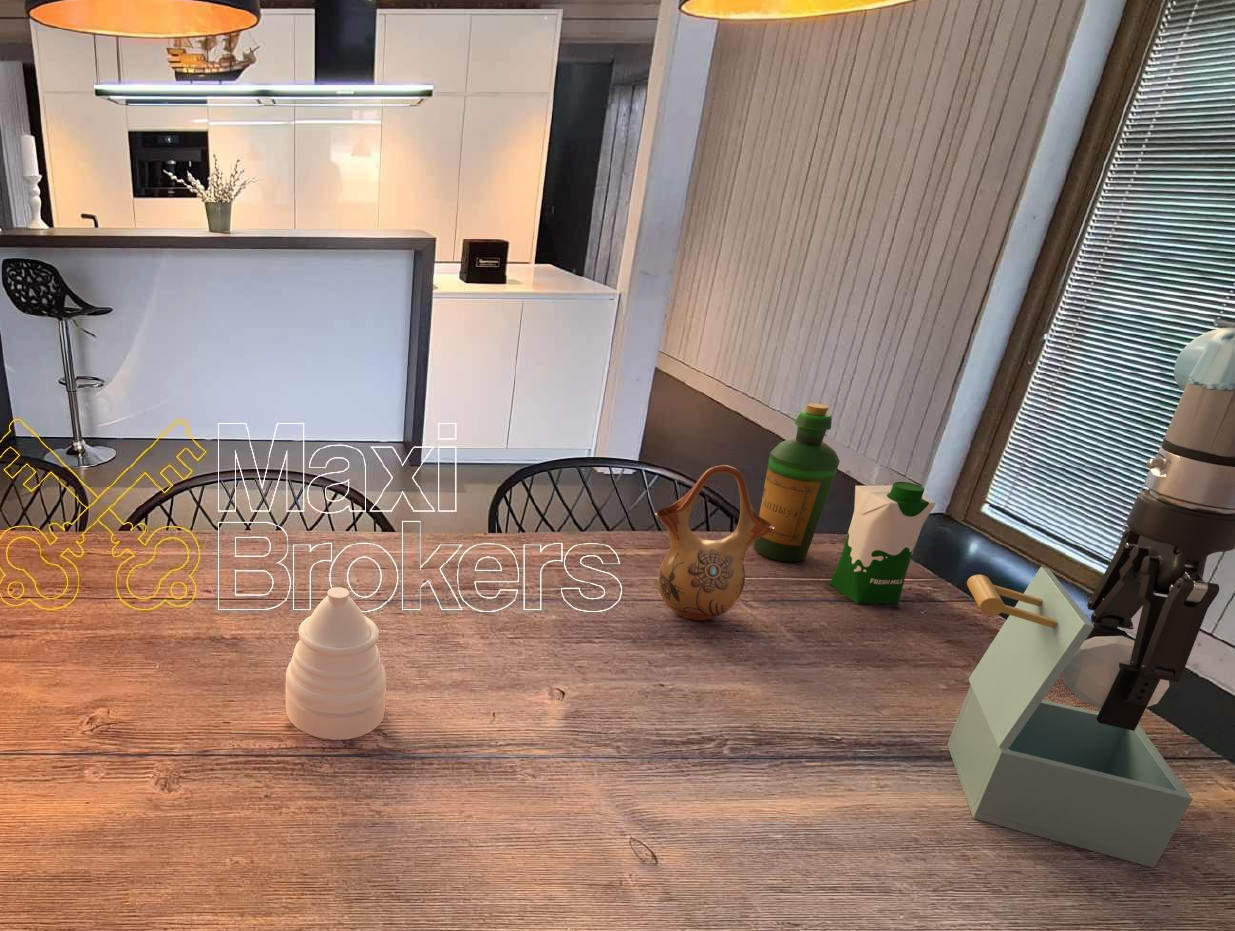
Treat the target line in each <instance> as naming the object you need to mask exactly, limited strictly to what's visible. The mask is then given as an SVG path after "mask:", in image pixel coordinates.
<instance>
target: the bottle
mask: <svg viewBox="0 0 1235 931" xmlns="http://www.w3.org/2000/svg"><path fill="white" fill-rule="evenodd" d="M829 408H830V406H829V405H826V404H823V403H815V402H810V403H807V404H806V409H801V411H800V412H799V414H798V416H797V418H796V420H795V422H794V425H796V427H797V429H796V434H795V435H796V436H795V437H791V438H787V439H786V440H784V441H780V443H778V444H777V446H775V447H774V448H773V449H772V450H771V451H770V453H769V457H768V463H767V468H766V475H765V479H764V480H765V481H764V485H763V487H764V488H763V491H762V497H761V502H760V509H759V514H758V516H759V517H761V518H763V519H764V520H766V521H767V522H769V523H770V524H771V525H772V526H773V527H774V530H773V531H771V532H769V533H767V534H765V535H764V536H762V537H760V538H759V539H757V540H756V541H755V542H753V548H754V550H755V551H756V552H757V553H758V554H760V555H762V556H764V557H765V558H768V559H770V560H773V561H778V562H783V563H785V562H786V563H794V562H800V561H804V560H805V559H806V558H807V555H808V553H809V551H810V547H811V544H812V541H813V538H814V536H815V532H816V530H817V527H818V525H819V522H820V519H821V516H822V513H823V510H824V508H825V505H826V502H827V499H828V496H829V493H830V490H831V487H832V484H833V482H834V480H835V476H836V474H837V471H838V468H839V465H840V463H841V460H840V458H839V456H838V454H837V452H836V450H834V449H833V448H832V447H831V446H829V444H827V443H826V442H825V441H823V440H824V438H825V436H826V432H827V431H829V430H832V422H833V421H832V420H833V419H832V418H833V414H831V413H830V412H828V411H829Z"/></svg>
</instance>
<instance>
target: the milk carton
mask: <svg viewBox="0 0 1235 931" xmlns="http://www.w3.org/2000/svg"><path fill="white" fill-rule="evenodd" d="M854 488H855V489H854V509H853V514H852V518H851V521H850V525H849V528H848V531H847V534H846V538H845V541H844V545H843V548H842V552H841V554H840V558H839V560H838V563H837V565H836V567H835V570H834V571H833V575H832V577H831V579H830V581H829V585H830V586H832V587H833V588H834V589H835V590H837V591H839V592H840V594H841V593H842V595H845V596H846V597H847V598H848V599H850V600H851V601H852V602H854V603H855V604H857V605H884V604H885V605H887V604H889V605H890V604H891V605H892V604H894V605H895V604H900V600H901V595H902V592H903V587H904V583H905V579H906V576H907V573H908V569H909V566H910V563H911V561H912V557H913V554H914V551H915V549H916V546H917V543H918V539H919V536H920V534H921V530H922V528H923V526H924V524H925V522H926V521H927V518H928V517H929V516H930V514H931V512H932V511H933V509H934V508H935V506H936V505H937V503H936V501H933V500H931V499H930V498H927V497H926V496H924V492H925V487H924V486H922V485H920V484H916V483H913V482H908V481H907V482H906V481H895V482H893V483H892V484H891V485H889V484H888V485H886V484H885V485H881V484H880V485H855V487H854Z"/></svg>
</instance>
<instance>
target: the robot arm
mask: <svg viewBox="0 0 1235 931" xmlns="http://www.w3.org/2000/svg"><path fill="white" fill-rule="evenodd" d="M1173 376H1174V380H1175V382H1176V384H1177V386H1178V387H1179V388H1180V389H1181V390H1183V392H1182V394H1181V397H1180V399H1179V401H1178V404H1177V406H1176V409H1175V411H1174V412H1173V413H1174V414H1173V416H1172V418H1171V421H1170V423H1169V425H1168V427H1167V430H1166V432H1165V434H1164V437H1163V439H1162V442H1161V444H1160V446H1159V449H1158V451H1157V453H1156V456H1155V458H1150V459H1147V460H1146V461H1147V462H1146V467H1147V468H1148V469H1149V471H1148V474H1147V475H1146V478H1145V480H1144V486H1145V487H1146V488H1147V489H1145V490H1143V491H1141V492H1139V493H1138V494H1137V495H1136V496H1137V497H1136V498H1135V501H1134V503H1133V505H1132V508H1131V510H1130V512H1129V514H1128V517H1127V519H1126V526H1127V527H1128V528H1126V529H1125V530H1124V531H1123V532H1122V534H1121V535H1122V536H1121V539H1120V541H1119V543H1118V547H1117V550H1116V551H1115V553H1114V555H1113V557H1112V559H1110V560H1111V561H1110V562H1109V564H1108V565H1107V567H1106V569H1105V571H1104V573H1103V575H1102V577H1101V578H1100V580H1099V582H1098V583H1097V585H1096V587H1095V589H1094V591H1093V593H1092V594H1091V596H1090V598H1089V599H1088V602H1087V604H1086V607H1087V609H1088V610H1089V611H1093V612H1092V613H1091V616H1090V622H1091V623H1092V624H1093V626H1094V628H1093V629H1092V631H1091V632H1090V634H1089V635H1088V636H1087V638H1086V639H1085V640H1088V639H1090V638H1093V637H1103V636H1124V637H1126V638H1127V636H1128V632H1127V631H1126V629H1127V630H1134V629H1135V628H1134V623H1133V620H1132V619H1133V617H1134V616H1135V615H1136V614H1137V613H1138V612H1139V610H1140V609H1141V608H1142V609H1141V612H1140V616H1139V621H1138V626H1137V629H1136V634H1135V639H1134V641H1135V642H1134V647H1133V651H1132V655H1131V660H1130V664H1129V665H1128V664H1123V663H1119V668H1120V671H1119V673H1118V675H1117V677H1116V679H1115V681H1114V683H1113V685H1112V687H1111V689H1110V691H1109V693H1108V696H1107V698H1106V700H1105V702H1104V704H1103V706H1102V708H1101V710H1100V709H1099V711H1098V712H1099V714H1098V716H1097V721H1098V722H1099V723H1101V724H1106V725H1110V726H1115V727H1119V728H1123V729H1128V730H1132V731H1135V729H1136V727H1137V725H1138V723H1139V724H1140V721H1141V719H1142V717H1143V715H1144V713H1145V711H1146V709H1147V708H1148V707H1147V705H1148V703H1149V701H1150V699H1151V697H1152V695H1153V693H1154V691H1155V689H1156V687H1157V685H1158V683H1159V681H1160V679H1162V680H1167V681H1169V682H1173V683H1178V682H1180V680H1181V678H1182V676H1183V674H1184V671H1185V668H1186V666H1187V663H1188V661H1189V658H1190V655H1191V653H1192V650H1193V648H1194V645H1195V643H1196V640H1197V639H1198V638H1197V637H1198V635H1199V633H1200V630H1201V627H1202V625H1203V623H1204V619H1205V617H1206V615H1207V612H1208V609H1209V608H1210V606H1211V605H1212V604H1213V602H1214V601H1215V599H1216V598H1217V596H1218V595H1219V592H1220V584H1218V583H1214V582H1208V581H1205V580H1204V579H1203V578H1204V573H1205V568H1206V564H1207V561H1208V556H1210V555H1212V554H1216V553H1226V552H1230V551H1233V550H1235V327H1222V328H1216V329H1213V330H1210V331H1206V332H1205V333H1203V334H1201V335H1199V336H1197V337H1195V338H1194V339H1193V340H1191V341H1190V342H1189V343H1188V344H1187V345H1185V346H1184V348H1183V349H1182V350H1181V351H1180V353H1179V354H1178V356H1177V357H1176V361H1175V363H1174V368H1173ZM1157 594H1158V595H1157ZM1119 628H1120V629H1119ZM1121 628H1122V629H1121ZM1123 629H1125V630H1123Z"/></svg>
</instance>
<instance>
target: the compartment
mask: <svg viewBox="0 0 1235 931" xmlns="http://www.w3.org/2000/svg"><path fill="white" fill-rule="evenodd" d="M1099 712H1100V711H1097V710H1092V709H1089V708H1088V709H1087V708H1084V707H1079V706H1073V705H1069V704H1065V703H1062V702H1061V703H1060V702H1055V701H1051V700H1047V699H1043V700H1042V702H1041V703H1040V705H1039V706H1038V707H1037V709H1036V710H1035V712H1034V713H1033V714H1032V716H1031V717H1030V719H1029V720H1028V722H1027V723H1026V724H1025V726H1024V727H1023V729H1022V730H1021V731H1020V733H1019V734H1018V736H1017V737H1016V739H1015V740H1014V741H1013V743H1012V744H1011V746H1010V747H1009V748H1008V750H1005V749H1002V748H1000V747H998V745H997V743H996V740H995V738H994V736H993V733H992V731H991V729H990V727H989V724H988V722H987V720H986V718H985V715H984V713H983V711H982V709H981V706H980V704H979V702H978V700H977V697H976V695H975V693H974V690H973V688H972V686H971V684H970V685H969V688H968V691H967V693H966V696H965V698H964V701H963V702H962V706H961V708H960V711H959V714H958V715H957V719H956V721H955V723H954V726H953V728H952V730H951V734H950V735H949V739H948V741H947V744H946V745H947V748H948V751H949V753H950V757H951V760H952V762H953V765H954V768H955V771H956V774H957V776H958V779H959V782H960V785H961V789H962V791H963V794H964V796H965V799H966V802H967V805H968V808H969V811H970V813H971V816H972V819H975V820H978V821H981V822H985V823H989V824H992V825H996V826H999V827H1002V828H1007V829H1011V830H1015V831H1018V832H1022V833H1025V834H1029V835H1031V836H1032V835H1033V836H1036V837H1039V838H1043V839H1047V840H1051V841H1054V842H1058V843H1061V844H1065V845H1069V846H1071V847H1076V848H1080V849H1083V850H1087V851H1091V852H1095V853H1098V854H1101V855H1106V856H1109V857H1113V858H1116V859H1119V860H1123V861H1127V862H1130V863H1135V864H1138V865H1142V866H1145V867H1149V868H1153V869H1154V868H1155V867H1156V865H1157V864H1158V862H1159V861H1160V859H1161V857H1162V855H1163V853H1164V851H1165V850H1166V848H1167V846H1168V844H1169V843H1170V840H1172V837H1173V835H1174V834H1175V832H1176V830H1177V828H1178V827H1179V824H1181V821H1182V819H1183V818H1184V816H1185V814H1186V812H1187V810H1188V809H1189V807H1190V806H1191V803H1192V801H1193V797H1192V796H1191V795H1190V793H1189V792H1188V790H1187V789H1186V788H1185V786H1184V785H1183V784H1182V782H1181V781H1180V780H1179V778H1178V777H1177V775H1176V774H1175V773H1174V771H1173V770H1172V768H1171V766H1170V765H1169V764H1168V762H1167V761H1166V760H1165V757H1163V756H1162V754H1161V753H1160V752H1159V750H1158V749H1157V747H1156V746H1155V744H1154V743H1153V741H1152V740H1151V739H1150V737H1149V736H1148V735H1147V733H1146V732H1145V730H1144V728H1142V726H1141V724H1140V722H1139V723H1138V725H1137V727H1136V729H1135V731H1132V730H1128V729H1123V728H1119V727H1115V726H1110V725H1106V724H1101V723H1099V722H1098V721H1097V716H1098V714H1099Z"/></svg>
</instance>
